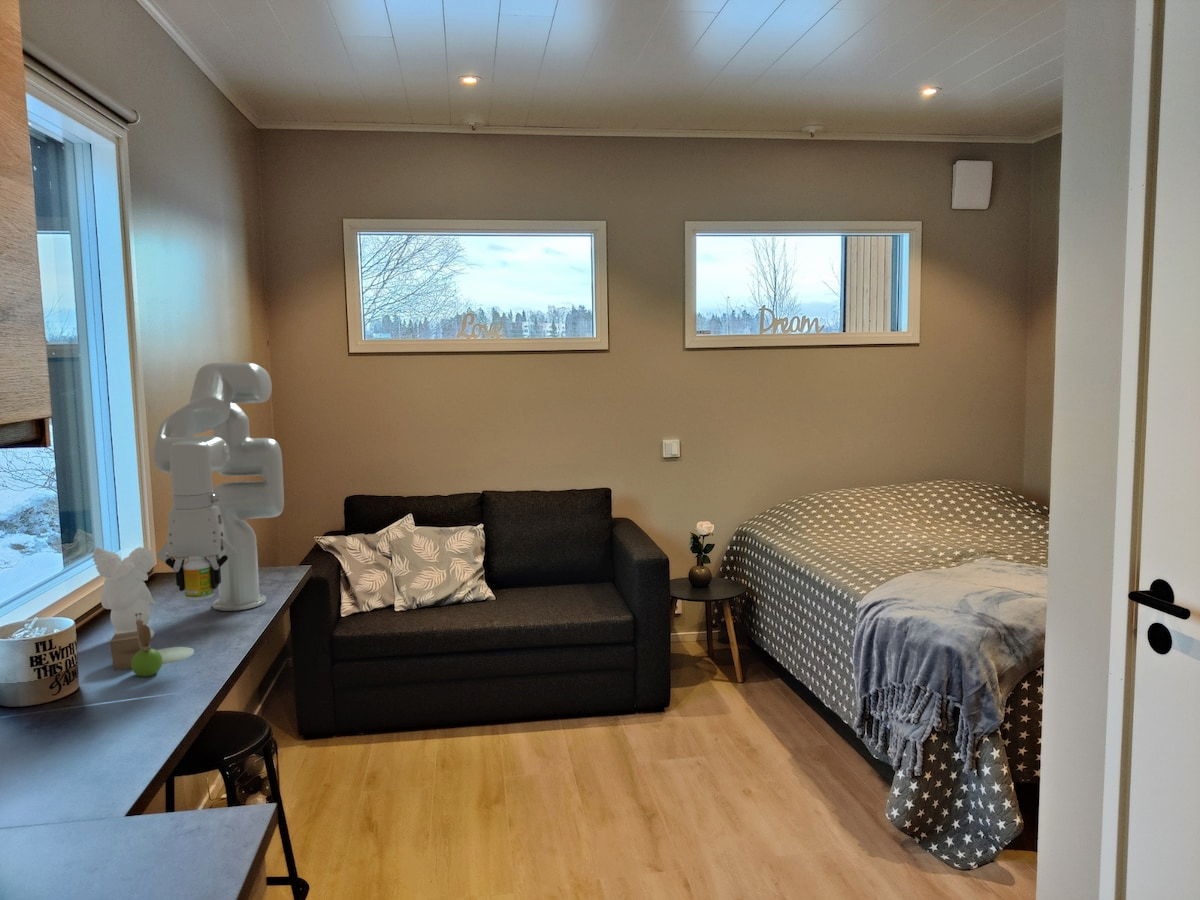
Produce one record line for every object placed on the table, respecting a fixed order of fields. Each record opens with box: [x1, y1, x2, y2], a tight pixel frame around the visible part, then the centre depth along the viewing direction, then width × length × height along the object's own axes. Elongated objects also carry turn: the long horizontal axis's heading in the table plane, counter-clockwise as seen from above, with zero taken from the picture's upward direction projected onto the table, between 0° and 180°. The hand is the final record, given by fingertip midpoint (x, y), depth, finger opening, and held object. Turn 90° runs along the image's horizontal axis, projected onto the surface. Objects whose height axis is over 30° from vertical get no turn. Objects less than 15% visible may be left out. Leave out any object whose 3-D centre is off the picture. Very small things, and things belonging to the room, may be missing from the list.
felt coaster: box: [156, 646, 195, 665], centre depth 175 cm, size 10×10×1 cm
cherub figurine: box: [91, 546, 156, 641], centre depth 183 cm, size 12×12×22 cm
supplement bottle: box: [183, 556, 215, 601], centre depth 171 cm, size 5×5×10 cm
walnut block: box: [109, 631, 142, 671], centre depth 169 cm, size 5×5×6 cm
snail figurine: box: [130, 613, 163, 678], centre depth 164 cm, size 5×6×12 cm
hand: (199, 587), depth 171 cm, fingers closed on supplement bottle, 5 cm apart
